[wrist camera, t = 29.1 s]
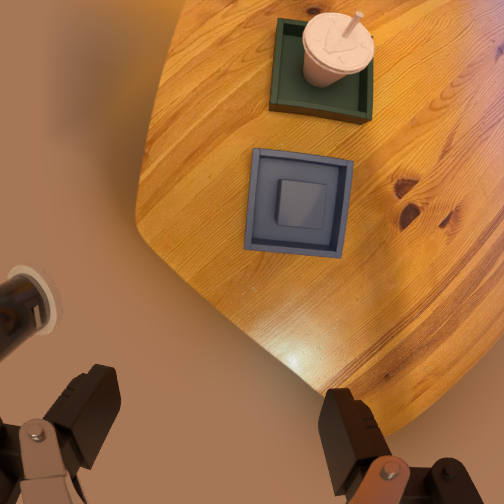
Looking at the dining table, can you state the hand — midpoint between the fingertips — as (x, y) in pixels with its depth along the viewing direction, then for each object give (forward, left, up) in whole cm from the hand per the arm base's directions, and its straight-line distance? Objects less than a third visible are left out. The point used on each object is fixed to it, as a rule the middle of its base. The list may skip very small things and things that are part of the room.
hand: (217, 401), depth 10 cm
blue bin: (+5, +6, -25) cm, 26 cm away
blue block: (+5, +6, -25) cm, 26 cm away
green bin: (+7, +21, -25) cm, 34 cm away
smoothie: (+7, +21, -25) cm, 33 cm away
